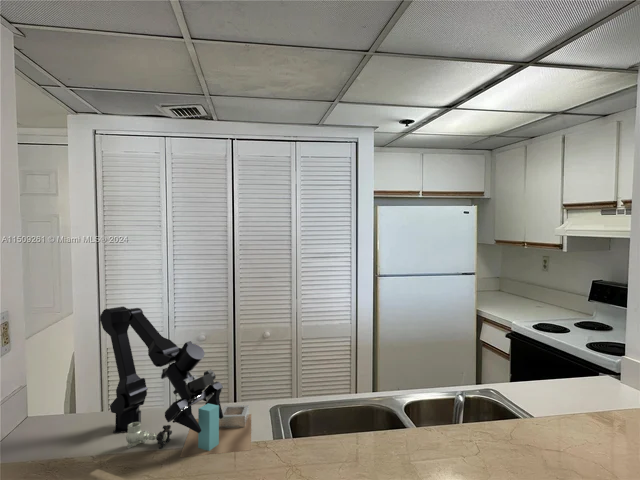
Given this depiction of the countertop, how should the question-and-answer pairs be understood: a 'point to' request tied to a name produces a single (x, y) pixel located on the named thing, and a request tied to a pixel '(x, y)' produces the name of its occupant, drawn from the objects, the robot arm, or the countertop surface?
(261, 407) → the countertop surface
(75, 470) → the countertop surface
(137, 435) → the valve
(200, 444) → the block
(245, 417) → the collar
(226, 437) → the board
